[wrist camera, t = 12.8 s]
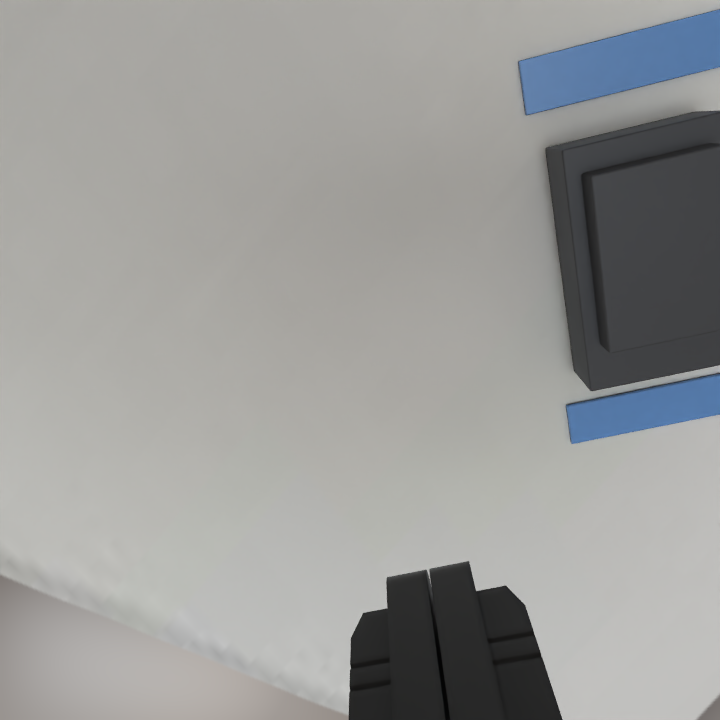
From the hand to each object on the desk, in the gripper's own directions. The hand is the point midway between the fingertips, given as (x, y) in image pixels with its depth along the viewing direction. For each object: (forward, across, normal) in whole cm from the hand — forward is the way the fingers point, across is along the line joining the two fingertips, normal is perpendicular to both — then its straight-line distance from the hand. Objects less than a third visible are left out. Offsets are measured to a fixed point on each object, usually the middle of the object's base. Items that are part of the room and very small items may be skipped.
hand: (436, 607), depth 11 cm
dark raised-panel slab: (+18, -10, 0) cm, 21 cm away
